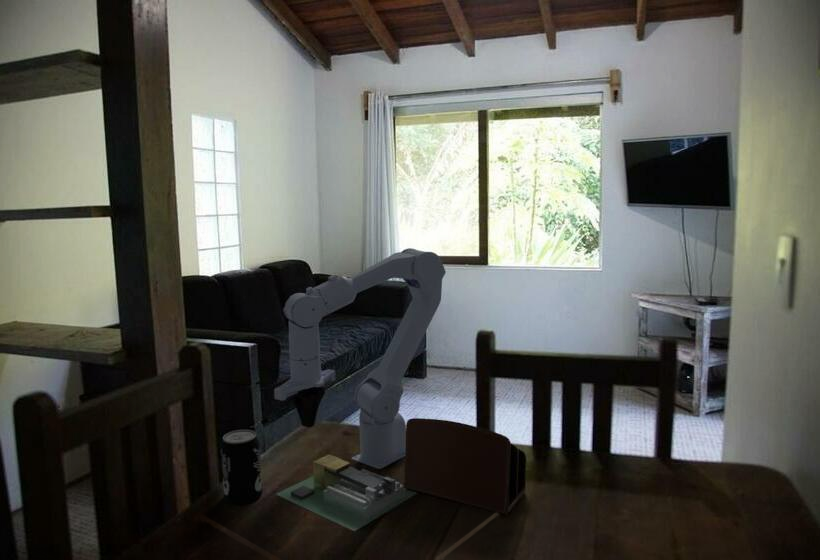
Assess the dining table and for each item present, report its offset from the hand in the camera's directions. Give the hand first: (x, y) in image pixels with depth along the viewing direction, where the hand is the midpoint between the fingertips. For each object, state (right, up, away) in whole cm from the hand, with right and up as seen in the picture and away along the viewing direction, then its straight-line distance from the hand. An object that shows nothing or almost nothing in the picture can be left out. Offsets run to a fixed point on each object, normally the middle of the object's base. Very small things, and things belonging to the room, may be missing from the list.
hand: (308, 425), depth 120 cm
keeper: (+5, -10, -6) cm, 13 cm away
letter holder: (+29, -10, -7) cm, 32 cm away
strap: (+10, -7, -10) cm, 16 cm away
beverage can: (-10, -12, -8) cm, 17 cm away
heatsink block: (+12, -11, -11) cm, 19 cm away
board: (+8, -11, -8) cm, 16 cm away
